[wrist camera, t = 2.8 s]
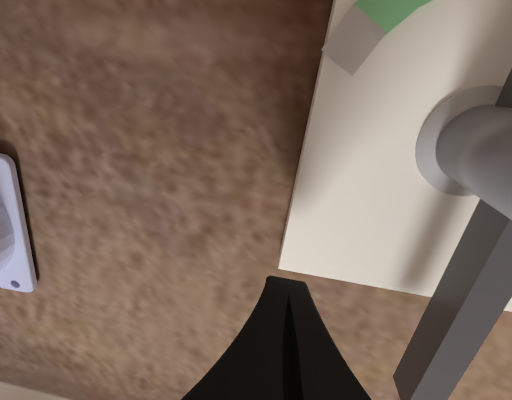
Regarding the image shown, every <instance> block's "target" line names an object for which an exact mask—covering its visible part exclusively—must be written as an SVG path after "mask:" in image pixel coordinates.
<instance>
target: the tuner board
mask: <svg viewBox="0 0 512 400" xmlns="http://www.w3.org/2000/svg"><path fill="white" fill-rule="evenodd" d="M321 51H322V56H321V61H320V65H319V70H318V75H317V80H316V84H315V89H314V94H313V98H312V103H311V108H310V113H309V117H308V122H307V127H306V131H305V136H304V141H303V146H302V150H301V155H300V160H299V164H298V169H297V174H296V179H295V183H294V188H293V193H292V197H291V202H290V207H289V211H288V216H287V221H286V226H285V230H284V235H283V240H282V244H281V249H280V254H279V264H278V269H282V270H288V271H293V272H299V273H304V274H310V275H315V276H320V277H326V278H331V279H337V280H342V281H347V282H353V283H358V284H364V285H369V286H375V287H380V288H385V289H391V290H396V291H402V292H407V293H413V294H418V295H423V296H429V297H432V296H433V294H434V292H435V290H436V288H437V286H438V284H439V281H440V279H441V277H442V275H443V273H444V271H445V269H446V267H447V265H448V263H449V261H450V259H451V257H452V255H453V253H454V251H455V249H456V247H457V245H458V243H459V241H460V239H461V237H462V235H463V233H464V231H465V229H466V226H467V224H468V222H469V220H470V218H471V216H472V214H473V212H474V210H475V208H476V206H477V204H478V202H479V200H480V198H478V197H477V196H476V195H474V194H473V193H471V192H470V191H468V190H467V189H465V188H464V187H462V186H461V185H460V184H458V183H457V182H455V181H454V180H452V179H451V178H449V177H448V176H447V175H445V174H444V173H443V172H442V170H441V169H440V167H439V165H438V163H437V160H436V146H437V142H438V139H439V137H440V135H441V133H442V131H443V130H444V128H445V127H446V126H447V124H448V123H449V122H450V121H451V120H452V119H454V118H455V117H456V116H457V115H459V114H460V113H462V112H464V111H466V110H468V109H470V108H473V107H476V106H481V105H495V104H496V102H497V99H498V97H499V95H500V93H501V90H502V88H503V86H504V84H505V82H506V79H507V77H508V75H509V73H510V70H511V68H512V0H333V4H332V9H331V14H330V18H329V23H328V28H327V33H326V37H325V42H324V46H323V47H322V49H321ZM504 310H505V311H510V312H512V297H511V299H510V301H509V302H508V304H507V305H506V307H505V309H504Z"/></svg>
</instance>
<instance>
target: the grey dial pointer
mask: <svg viewBox="0 0 512 400" xmlns="http://www.w3.org/2000/svg"><path fill="white" fill-rule="evenodd" d="M436 160H437V163H438V165H439V167H440V169H441V170H442V172H443V173H444V174H445V175H447V176H448V177H449V178H451V179H452V180H454V181H455V182H457V183H458V184H460V185H461V186H462V187H464V188H465V189H467V190H468V191H470V192H471V193H473V194H474V195H476V196H477V197H478V198H480V200H479V202H478V204H477V206H476V208H475V210H474V212H473V214H472V216H471V218H470V220H469V222H468V224H467V226H466V229H465V231H464V233H463V235H462V237H461V239H460V241H459V243H458V245H457V247H456V249H455V251H454V253H453V255H452V257H451V259H450V261H449V263H448V265H447V267H446V269H445V271H444V273H443V275H442V277H441V279H440V281H439V284H438V286H437V288H436V290H435V292H434V294H433V296H432V298H431V300H430V302H429V304H428V306H427V308H426V310H425V312H424V314H423V316H422V318H421V320H420V322H419V324H418V326H417V328H416V330H415V332H414V334H413V337H412V339H411V341H410V343H409V345H408V347H407V349H406V351H405V353H404V355H403V357H402V359H401V361H400V363H399V365H398V367H397V369H396V371H395V373H394V375H393V378H394V381H395V384H396V387H397V390H398V393H399V396H400V399H401V400H447V399H448V398H449V396H450V395H451V393H452V391H453V390H454V388H455V387H456V385H457V383H458V382H459V380H460V379H461V377H462V375H463V374H464V372H465V371H466V369H467V367H468V366H469V364H470V363H471V361H472V360H473V358H474V356H475V355H476V353H477V352H478V350H479V348H480V347H481V345H482V344H483V342H484V340H485V339H486V337H487V336H488V334H489V332H490V331H491V329H492V328H493V326H494V325H495V323H496V321H497V320H498V318H499V317H500V315H501V313H502V312H503V310H504V309H505V307H506V305H507V304H508V302H509V301H510V299H511V297H512V68H511V70H510V73H509V75H508V77H507V79H506V82H505V84H504V86H503V88H502V90H501V93H500V95H499V97H498V99H497V102H496V104H495V105H481V106H476V107H473V108H470V109H468V110H466V111H464V112H462V113H460V114H459V115H457V116H456V117H455V118H454V119H452V120H451V121H450V122H449V123H448V124H447V126H446V127H445V128H444V130H443V131H442V133H441V135H440V137H439V139H438V142H437V146H436Z"/></svg>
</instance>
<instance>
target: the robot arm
mask: <svg viewBox="0 0 512 400" xmlns="http://www.w3.org/2000/svg"><path fill="white" fill-rule="evenodd" d="M0 287H1V288H6V289H11V290H16V291H21V292H31V291H33V290H34V289H35V288H36V287H37V280H36V274H35V269H34V264H33V258H32V253H31V247H30V242H29V237H28V231H27V226H26V220H25V215H24V210H23V204H22V199H21V193H20V188H19V183H18V177H17V172H16V166H15V163H14V161H13V160H12V159H11V158H10V157H9V156H8V155H5V154H2V153H0ZM181 400H371V398H370V397H369V396H368V394H367V393H366V391H365V390H364V389H363V387H362V386H361V384H360V383H359V382H358V380H357V379H356V377H355V376H354V374H353V373H352V371H351V370H350V368H349V367H348V365H347V364H346V362H345V360H344V359H343V357H342V355H341V354H340V352H339V350H338V349H337V347H336V345H335V344H334V342H333V340H332V338H331V336H330V335H329V333H328V331H327V329H326V327H325V325H324V323H323V321H322V319H321V317H320V315H319V313H318V311H317V309H316V306H315V304H314V302H313V300H312V297H311V295H310V292H309V290H308V287H307V285H306V283H305V282H302V281H296V280H291V279H286V278H280V277H275V276H269V277H267V278H266V283H265V287H264V290H263V292H262V294H261V297H260V299H259V301H258V303H257V305H256V306H255V308H254V310H253V312H252V314H251V315H250V317H249V319H248V320H247V322H246V323H245V325H244V326H243V328H242V329H241V331H240V332H239V334H238V335H237V337H236V338H235V340H234V341H233V342H232V344H231V345H230V346H229V348H228V349H227V350H226V351H225V353H224V354H223V355H222V356H221V358H220V359H219V360H218V361H217V362H216V363H215V364H214V366H213V367H212V368H211V369H210V370H209V371H208V373H207V374H206V375H205V376H204V377H203V378H202V379H201V380H200V381H199V382H198V383H197V384H196V385H195V386H194V387H193V388H192V389H191V390H190V391H189V392H188V393H187V394H186V395H185V396H184V397H183V398H182V399H181Z"/></svg>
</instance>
